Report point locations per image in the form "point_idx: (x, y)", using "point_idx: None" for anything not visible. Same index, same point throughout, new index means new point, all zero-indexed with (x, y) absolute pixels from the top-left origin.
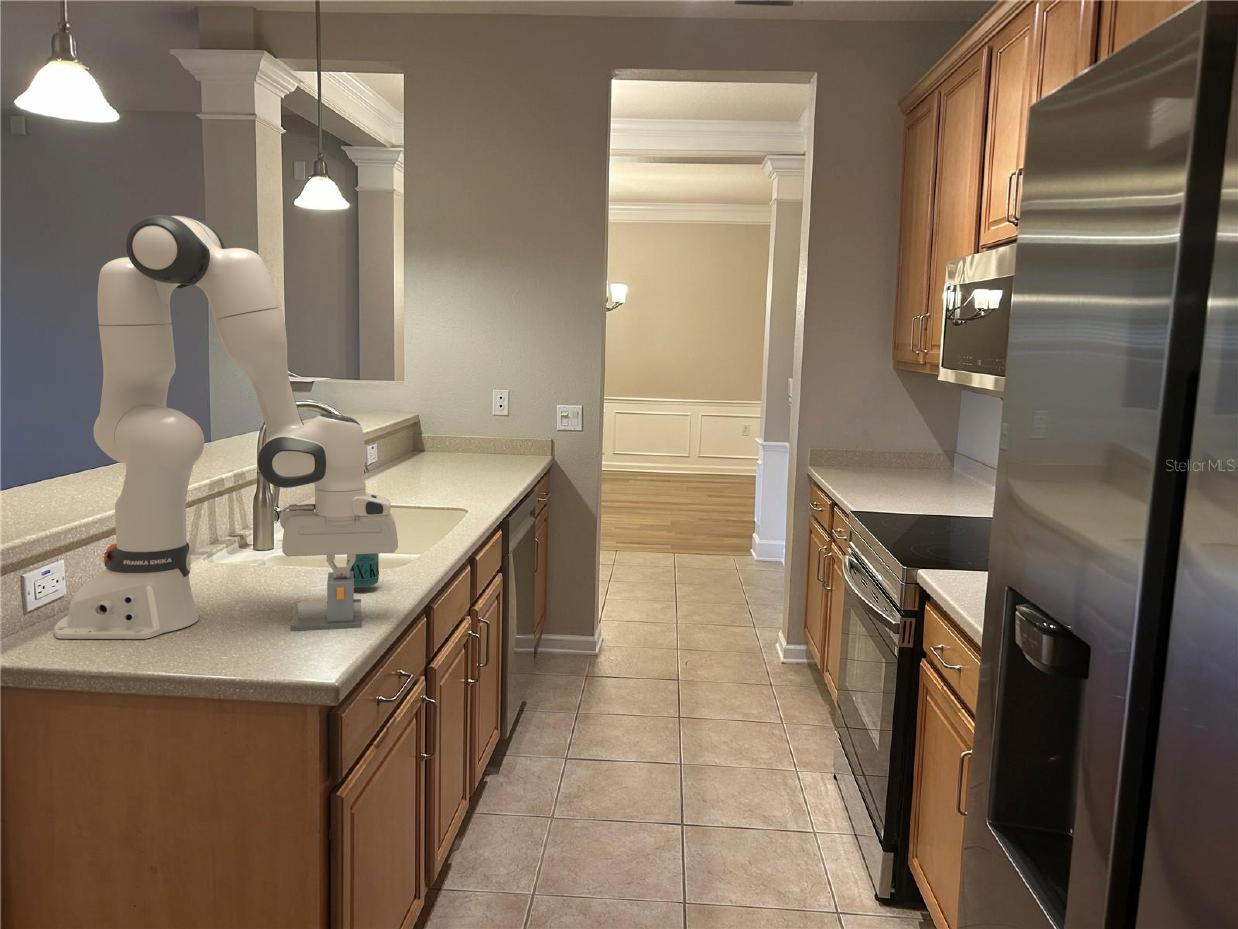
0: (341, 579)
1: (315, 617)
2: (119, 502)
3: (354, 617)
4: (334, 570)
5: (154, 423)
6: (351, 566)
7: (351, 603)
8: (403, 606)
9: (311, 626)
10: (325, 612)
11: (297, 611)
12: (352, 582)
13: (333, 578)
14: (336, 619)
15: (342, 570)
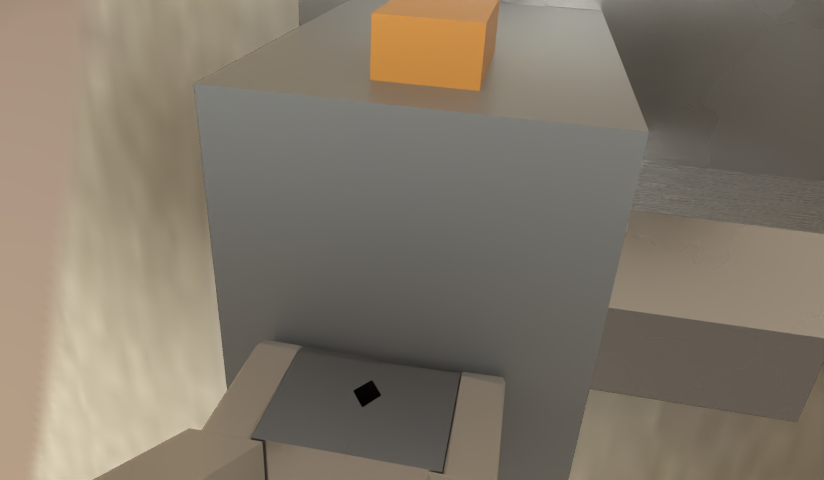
0: (385, 318)
1: (684, 168)
2: None
3: None
4: (472, 467)
5: None
6: (140, 455)
7: (334, 21)
8: (70, 331)
9: None
10: None
11: (791, 363)
12: (209, 103)
13: (501, 379)
14: (516, 8)
15: (331, 438)
